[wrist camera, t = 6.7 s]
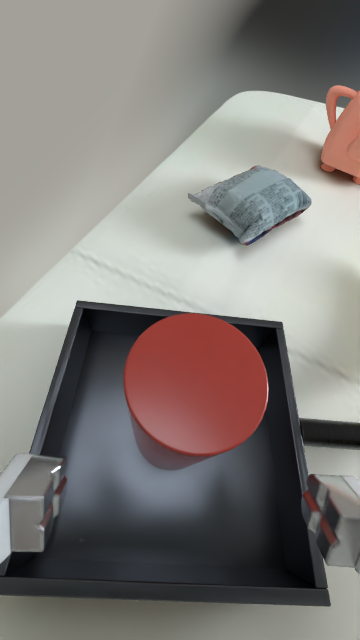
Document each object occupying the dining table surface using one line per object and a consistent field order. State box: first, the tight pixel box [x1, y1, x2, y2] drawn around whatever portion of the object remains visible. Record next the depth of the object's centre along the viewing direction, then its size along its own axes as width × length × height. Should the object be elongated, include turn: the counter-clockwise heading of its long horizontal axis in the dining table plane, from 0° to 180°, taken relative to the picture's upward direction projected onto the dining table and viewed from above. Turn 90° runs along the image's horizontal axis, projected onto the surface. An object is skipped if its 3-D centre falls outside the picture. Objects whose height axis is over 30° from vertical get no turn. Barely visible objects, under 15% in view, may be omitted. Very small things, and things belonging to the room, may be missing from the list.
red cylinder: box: [123, 313, 269, 471], centre depth 14 cm, size 5×5×11 cm
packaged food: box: [188, 166, 311, 245], centre depth 30 cm, size 9×12×5 cm
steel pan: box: [0, 301, 360, 607], centre depth 17 cm, size 24×15×4 cm, turn 87°
